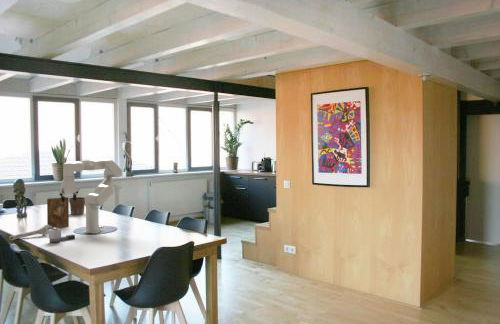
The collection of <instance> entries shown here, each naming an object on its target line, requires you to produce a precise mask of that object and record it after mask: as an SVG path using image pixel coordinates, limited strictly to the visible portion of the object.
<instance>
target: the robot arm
mask: <svg viewBox="0 0 500 324" xmlns="http://www.w3.org/2000/svg"><path fill="white" fill-rule="evenodd" d="M62 170H63V171H62V175H63V176H62V178H63V179H62V180H61V185H60V189H59V190H57V193H58V195H59V196H60V198H61V201H62V202H65V197H66V195H67V194H72V198H73V200H76V197H77V195H78V194H79V191H80V189H79V188H78V187H77V186H76V180H75V179H76V176H75V172H76V173H77V172H79V173H80V172H83V171H97V170H103V179H102V181H101V182H100V183H99V184H98V185H97V186H96V187H95V189H94V193H92V192H91V193H88V194H86V195H85V197H84V198H85V205H84V206H85V221H86V223H85V225H86V227H85V230H84V231H83V232H84V234H88V233H92V234H98V233H101V231H102V230H101V229H104V228H105V227H104V225H99V224H100V223H99V219H100V217H99V207H102V206H104V205H105V203H107V202H108V201H109V200H110V198H111V197H112V196H113V195H114V187H112V186H113V184H114V182H113V178H116V179H118V178H120V177H122V174H123V170H122V168H121V167H120V166H119V165H118V164H117V163H116V162H115V161H114V160H113V159H111V158H97V159H87V160H75V161H74V160H73V161H69V162H64V163H63V164H62Z"/></svg>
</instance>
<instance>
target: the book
mask: <svg viewBox="0 0 500 324" xmlns="http://www.w3.org/2000/svg"><path fill="white" fill-rule="evenodd" d="M64 197H65V202H62V201H61V197H54V198H53V197H51V198H47V199H46V206H47V207H46V209H47V210H46V213H47V214H46V215H47V217H46V218H47V219H46V221H47V224H46V225H50V226H52V228H55V227H57V228H58V229H61V228H66V227H70V226H69V225H70V223H69V222H70V217H69V216H70V215H69V214H70V213H69V208H70V207H69V206H70V203H69V197H68V196H67V197H66V196H64ZM48 228H49V229H52V228H50V227H48Z"/></svg>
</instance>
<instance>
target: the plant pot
mask: <svg viewBox="0 0 500 324" xmlns="http://www.w3.org/2000/svg"><path fill="white" fill-rule="evenodd" d="M68 203H69V206H70V207H69V208H70V215H75V216H76V215H77V216H79V215H84V213H85V206H86V205H85V197H81V196H76V200H73V197H68Z"/></svg>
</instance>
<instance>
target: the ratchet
mask: <svg viewBox="0 0 500 324" xmlns="http://www.w3.org/2000/svg"><path fill="white" fill-rule="evenodd" d="M74 239H76V234H67V235H65V236H61V238H58V239H49V243H50V244H58V243H61V242H65V240H66V241H70V240H71V241H72V240H74ZM60 241H61V242H60Z"/></svg>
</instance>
